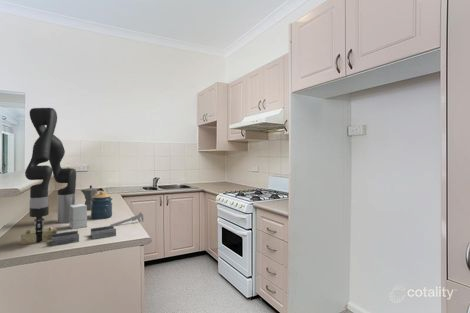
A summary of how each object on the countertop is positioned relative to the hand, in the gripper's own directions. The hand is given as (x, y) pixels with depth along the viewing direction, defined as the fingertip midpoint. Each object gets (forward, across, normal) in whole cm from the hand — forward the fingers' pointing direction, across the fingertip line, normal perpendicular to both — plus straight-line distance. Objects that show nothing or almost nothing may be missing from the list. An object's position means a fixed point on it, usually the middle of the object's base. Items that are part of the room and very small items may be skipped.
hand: (39, 240), depth 130 cm
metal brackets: (0, +7, +19) cm, 20 cm away
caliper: (+1, -9, +43) cm, 44 cm away
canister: (0, -35, +33) cm, 48 cm away
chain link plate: (0, 0, 0) cm, 0 cm away
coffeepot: (0, -64, +31) cm, 71 cm away
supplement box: (0, -18, +18) cm, 26 cm away
